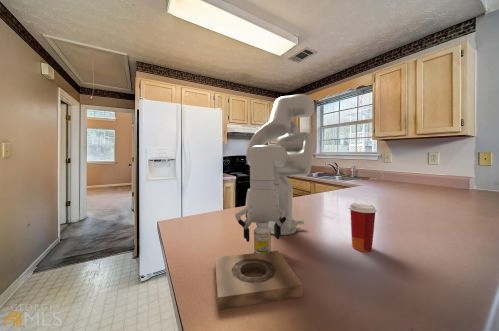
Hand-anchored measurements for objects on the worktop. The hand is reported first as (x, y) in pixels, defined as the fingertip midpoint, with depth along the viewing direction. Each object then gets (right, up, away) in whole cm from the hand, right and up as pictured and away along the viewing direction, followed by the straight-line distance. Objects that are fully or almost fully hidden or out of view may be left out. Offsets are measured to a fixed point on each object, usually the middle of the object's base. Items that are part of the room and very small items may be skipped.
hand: (262, 238), depth 64 cm
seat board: (-3, -5, -15) cm, 16 cm away
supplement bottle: (0, -4, 0) cm, 4 cm away
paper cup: (+32, -4, +2) cm, 33 cm away
